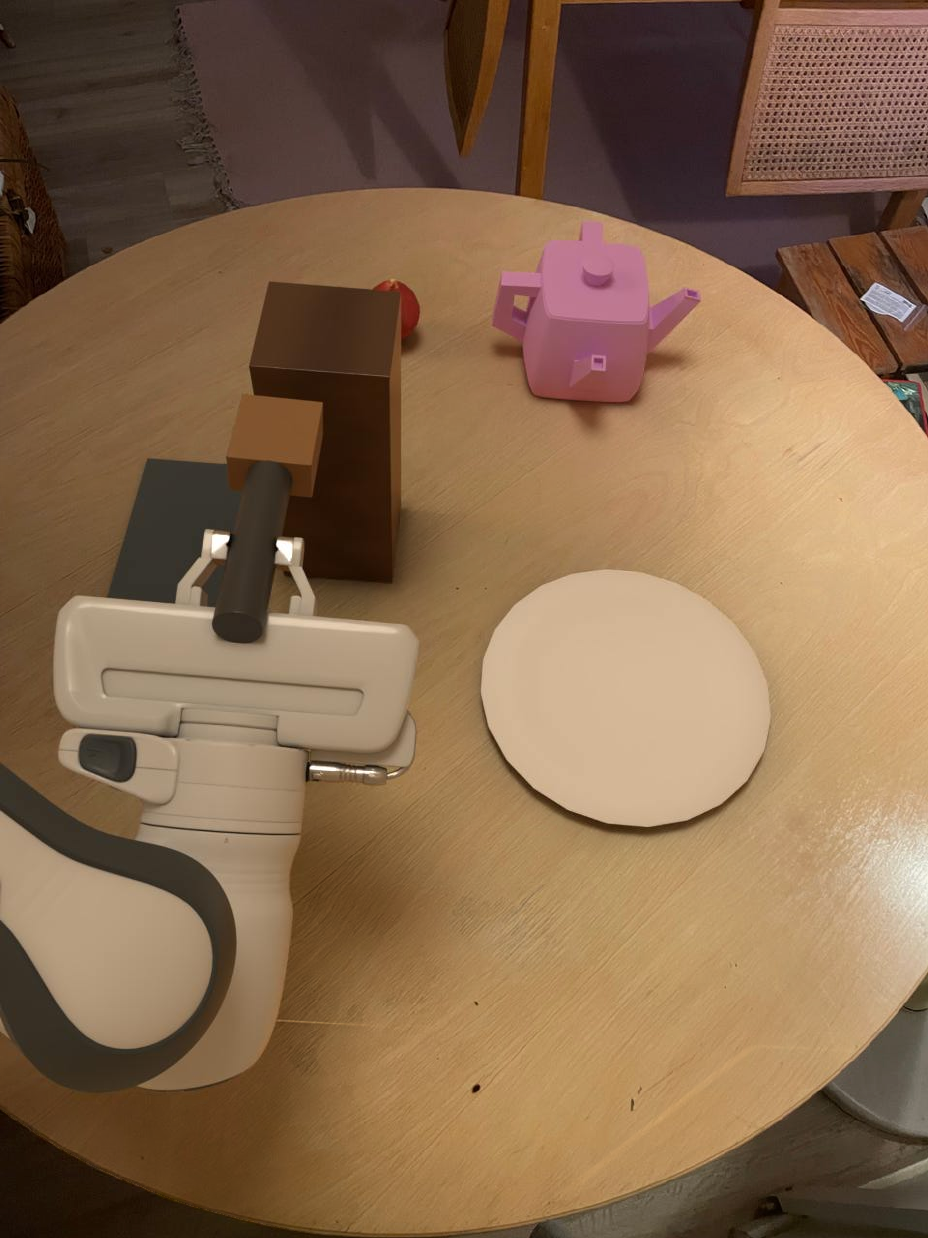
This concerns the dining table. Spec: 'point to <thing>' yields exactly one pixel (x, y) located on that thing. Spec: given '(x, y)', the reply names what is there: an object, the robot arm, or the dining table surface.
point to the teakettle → (587, 318)
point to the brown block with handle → (263, 502)
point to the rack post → (340, 419)
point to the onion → (404, 305)
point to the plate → (625, 698)
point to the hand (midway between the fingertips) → (255, 535)
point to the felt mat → (173, 529)
